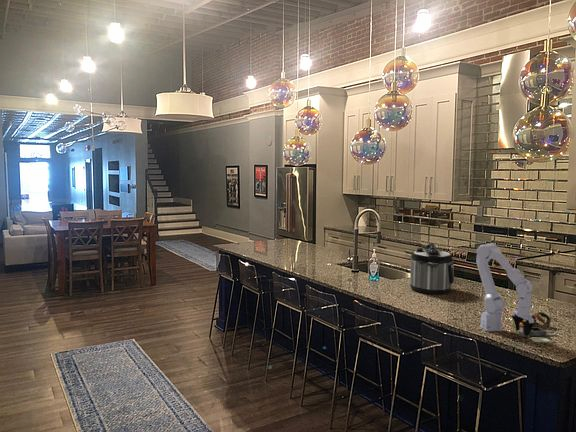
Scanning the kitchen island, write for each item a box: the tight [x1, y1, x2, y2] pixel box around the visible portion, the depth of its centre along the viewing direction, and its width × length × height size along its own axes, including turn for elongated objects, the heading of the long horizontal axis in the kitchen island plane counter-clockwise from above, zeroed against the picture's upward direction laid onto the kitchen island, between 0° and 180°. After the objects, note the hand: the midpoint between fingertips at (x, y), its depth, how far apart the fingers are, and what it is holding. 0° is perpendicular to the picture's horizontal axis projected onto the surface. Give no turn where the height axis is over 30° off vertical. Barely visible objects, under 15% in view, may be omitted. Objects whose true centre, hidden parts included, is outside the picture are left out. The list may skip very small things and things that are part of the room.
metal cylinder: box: [518, 322, 527, 338], centre depth 235 cm, size 3×3×7 cm
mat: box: [528, 337, 552, 343], centre depth 230 cm, size 8×5×1 cm, turn 94°
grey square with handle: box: [529, 326, 555, 338], centre depth 237 cm, size 13×7×3 cm, turn 94°
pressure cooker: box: [409, 242, 455, 295], centre depth 324 cm, size 30×28×32 cm
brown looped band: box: [531, 311, 552, 330], centre depth 251 cm, size 12×10×8 cm
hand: (522, 332), depth 235 cm, fingers open, 7 cm apart
